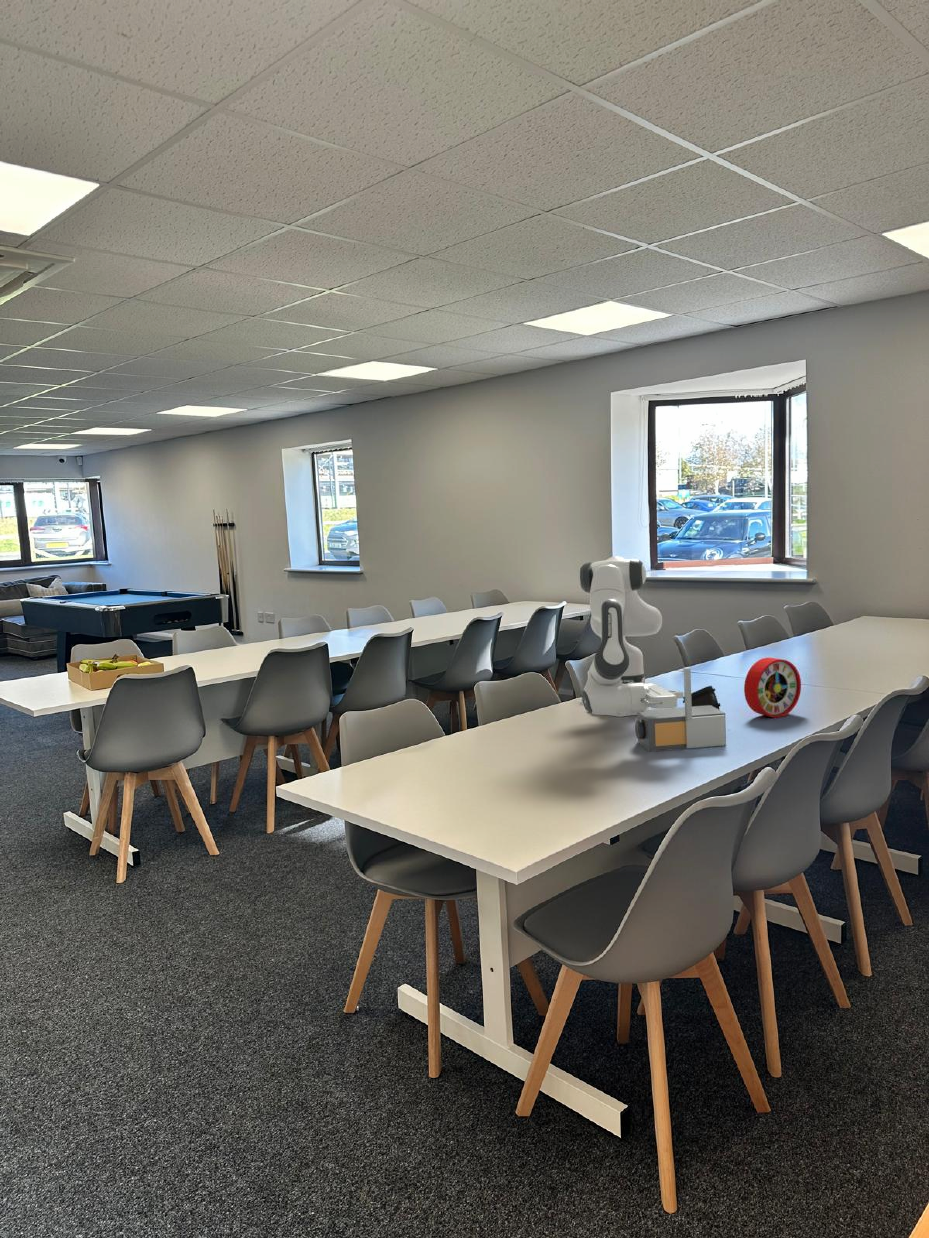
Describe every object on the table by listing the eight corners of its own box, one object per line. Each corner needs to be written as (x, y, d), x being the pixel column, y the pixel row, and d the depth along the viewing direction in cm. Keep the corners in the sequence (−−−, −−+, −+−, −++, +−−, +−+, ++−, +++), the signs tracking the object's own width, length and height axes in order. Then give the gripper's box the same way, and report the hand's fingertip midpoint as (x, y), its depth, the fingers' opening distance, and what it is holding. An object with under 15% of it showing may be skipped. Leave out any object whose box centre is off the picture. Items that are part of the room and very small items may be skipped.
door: (688, 748, 256) (685, 668, 254) (686, 747, 258) (683, 667, 256) (726, 745, 257) (724, 665, 255) (724, 744, 259) (722, 664, 257)
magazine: (724, 730, 270) (706, 686, 274) (694, 742, 280) (677, 699, 284) (731, 728, 273) (713, 684, 276) (701, 739, 283) (684, 697, 286)
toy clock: (757, 721, 286) (755, 663, 284) (744, 718, 292) (743, 661, 289) (801, 713, 294) (800, 656, 292) (788, 710, 300) (787, 654, 297)
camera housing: (644, 752, 257) (643, 719, 256) (633, 742, 269) (631, 711, 268) (726, 745, 259) (725, 713, 258) (711, 735, 271) (710, 705, 270)
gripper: (646, 693, 244) (693, 690, 245) (627, 681, 264) (670, 678, 265) (647, 715, 244) (694, 711, 245) (627, 701, 265) (671, 698, 266)
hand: (681, 694), depth 255 cm, fingers closed
